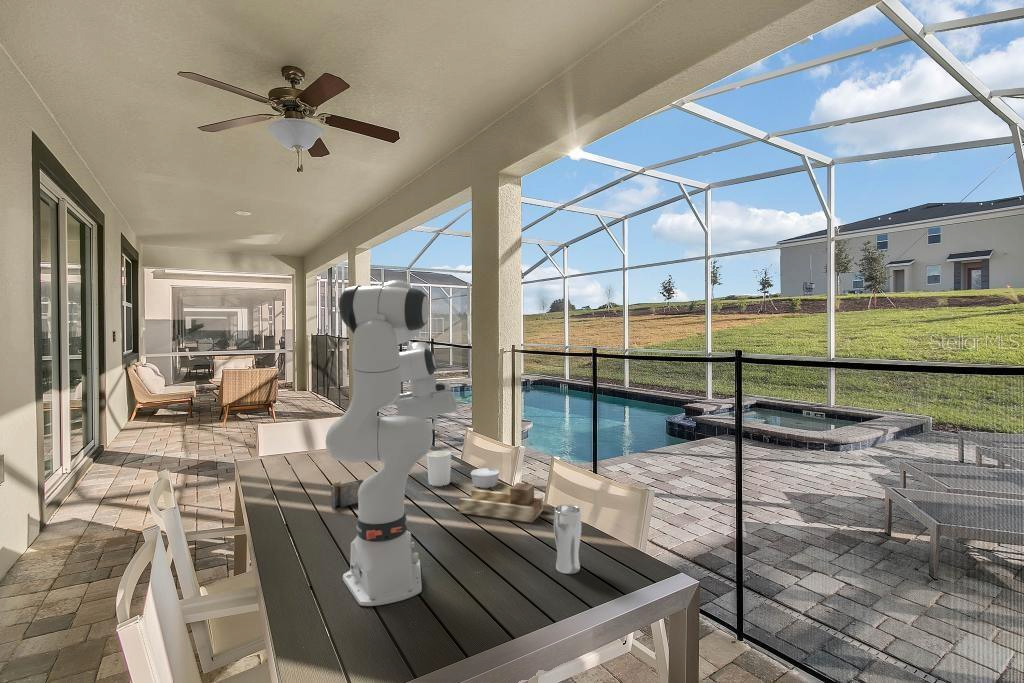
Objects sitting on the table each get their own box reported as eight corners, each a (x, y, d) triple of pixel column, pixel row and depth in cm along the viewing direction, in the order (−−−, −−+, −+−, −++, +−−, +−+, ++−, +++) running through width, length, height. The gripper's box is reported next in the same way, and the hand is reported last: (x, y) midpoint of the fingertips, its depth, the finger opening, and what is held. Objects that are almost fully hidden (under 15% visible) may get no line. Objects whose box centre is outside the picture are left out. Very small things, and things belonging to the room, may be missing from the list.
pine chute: (458, 512, 159) (458, 499, 159) (473, 501, 170) (473, 489, 169) (532, 522, 150) (532, 508, 150) (543, 510, 160) (542, 497, 160)
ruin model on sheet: (335, 510, 164) (334, 482, 164) (331, 508, 166) (331, 480, 166) (366, 502, 172) (365, 475, 172) (362, 500, 174) (361, 473, 174)
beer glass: (574, 577, 115) (574, 516, 115) (549, 570, 119) (548, 510, 119) (586, 565, 121) (585, 507, 121) (561, 559, 125) (560, 502, 125)
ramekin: (505, 484, 189) (505, 471, 189) (484, 491, 181) (484, 477, 181) (485, 478, 197) (485, 466, 197) (465, 485, 189) (465, 472, 189)
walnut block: (510, 512, 155) (510, 488, 155) (517, 506, 161) (517, 482, 161) (527, 515, 153) (527, 490, 153) (534, 508, 159) (533, 484, 159)
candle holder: (456, 481, 193) (456, 452, 193) (440, 488, 185) (440, 457, 185) (438, 478, 198) (437, 449, 198) (421, 484, 190) (421, 454, 190)
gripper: (392, 395, 159) (398, 436, 157) (452, 383, 159) (459, 424, 157) (396, 395, 165) (402, 435, 163) (454, 384, 166) (461, 424, 164)
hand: (431, 430), depth 160 cm, fingers closed
